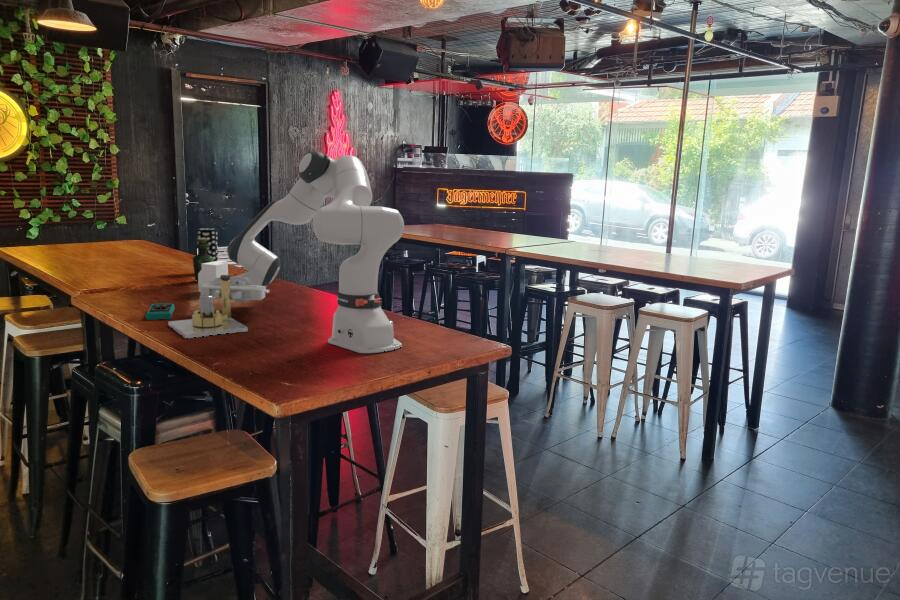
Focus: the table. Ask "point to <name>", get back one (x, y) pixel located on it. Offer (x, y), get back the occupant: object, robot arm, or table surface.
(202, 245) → the potion bottle
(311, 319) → the table surface
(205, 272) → the corner bracket
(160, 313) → the digital multimeter
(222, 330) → the spigot base
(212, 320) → the brass metal fixture
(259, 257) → the robot arm
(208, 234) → the white-spotted black cylinder
